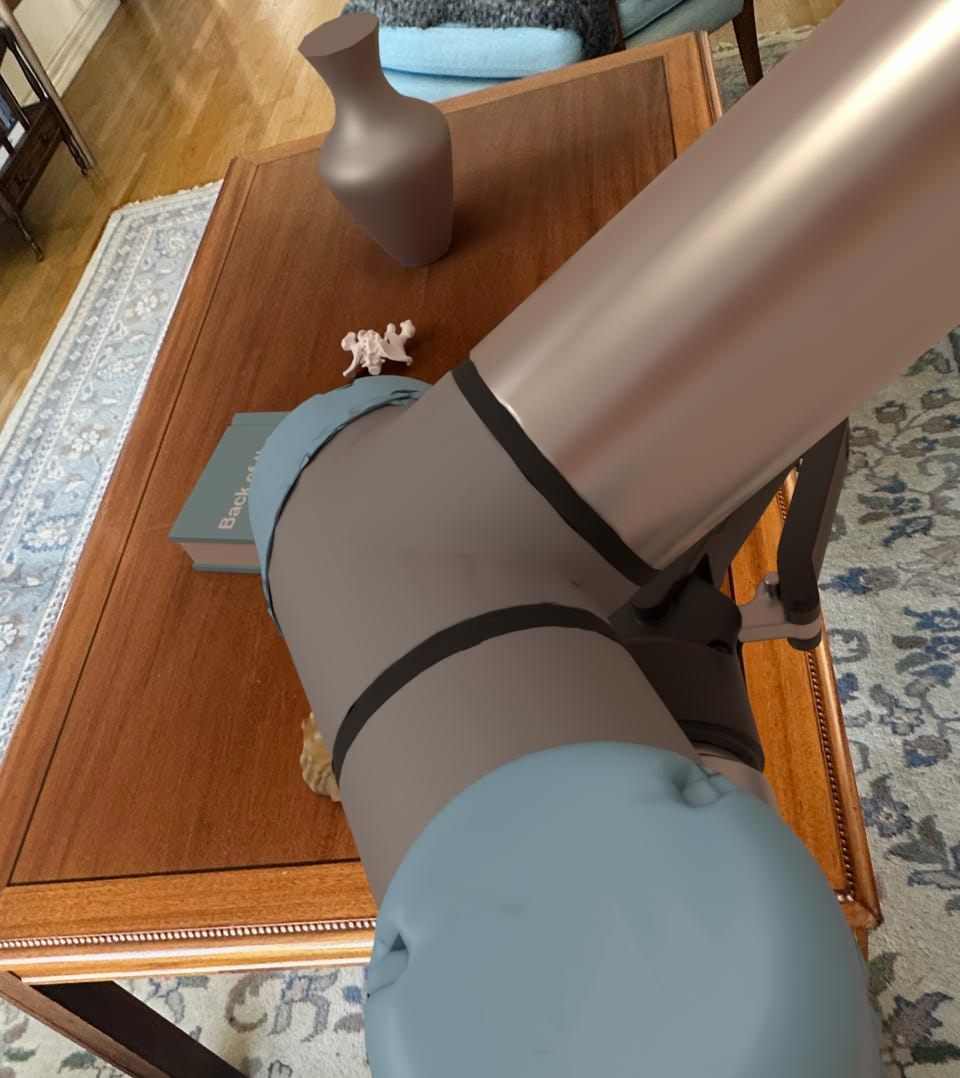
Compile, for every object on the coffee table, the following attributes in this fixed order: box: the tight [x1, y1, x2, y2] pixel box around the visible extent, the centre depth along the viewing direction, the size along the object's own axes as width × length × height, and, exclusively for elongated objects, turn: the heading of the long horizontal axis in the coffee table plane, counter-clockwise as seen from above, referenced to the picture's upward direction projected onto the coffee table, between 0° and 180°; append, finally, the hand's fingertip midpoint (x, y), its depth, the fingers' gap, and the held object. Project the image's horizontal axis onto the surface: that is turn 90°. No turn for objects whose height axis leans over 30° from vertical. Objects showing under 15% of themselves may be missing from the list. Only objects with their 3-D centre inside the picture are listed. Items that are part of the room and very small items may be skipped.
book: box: [166, 410, 293, 575], centre depth 88 cm, size 23×16×5 cm
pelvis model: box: [340, 319, 416, 379], centre depth 99 cm, size 8×4×7 cm
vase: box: [296, 10, 454, 269], centre depth 103 cm, size 14×14×25 cm
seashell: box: [299, 711, 341, 803], centre depth 71 cm, size 9×8×10 cm
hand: (573, 370), depth 45 cm, fingers open, 13 cm apart
